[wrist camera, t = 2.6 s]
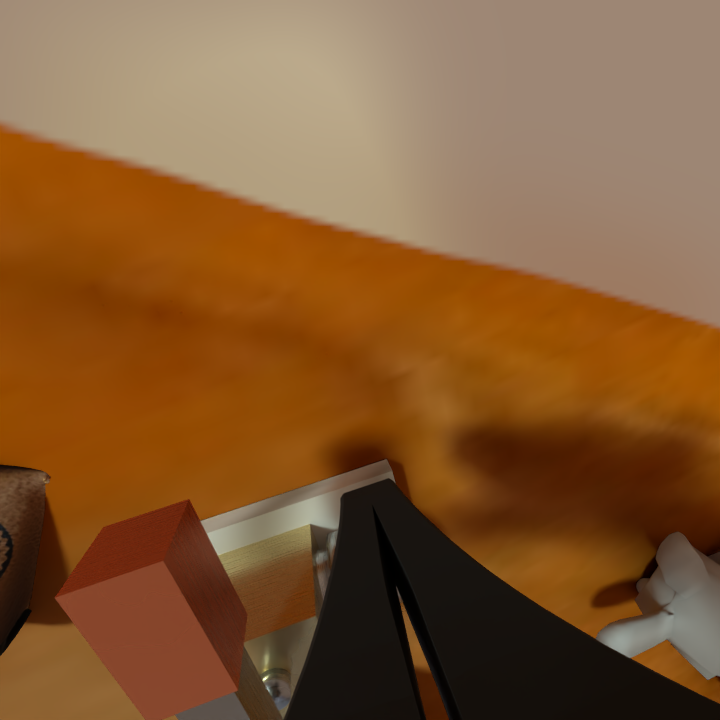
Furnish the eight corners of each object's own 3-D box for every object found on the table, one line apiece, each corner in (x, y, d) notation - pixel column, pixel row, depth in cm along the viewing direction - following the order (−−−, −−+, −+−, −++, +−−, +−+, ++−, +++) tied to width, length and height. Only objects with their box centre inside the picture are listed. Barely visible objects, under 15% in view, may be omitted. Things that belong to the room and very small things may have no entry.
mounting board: (386, 458, 17) (392, 470, 16) (415, 564, 19) (421, 580, 19) (114, 549, 16) (102, 568, 15) (177, 651, 18) (171, 672, 17)
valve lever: (318, 740, 12) (323, 822, 10) (247, 769, 12) (239, 858, 10) (197, 496, 8) (173, 557, 7) (94, 530, 8) (43, 602, 7)
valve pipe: (375, 493, 17) (411, 597, 12) (395, 560, 19) (435, 680, 13) (145, 572, 16) (74, 724, 11) (184, 637, 17) (138, 798, 12)
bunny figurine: (769, 699, 23) (635, 719, 17) (682, 621, 28) (553, 617, 22) (867, 586, 21) (752, 567, 16) (756, 523, 26) (636, 490, 20)
